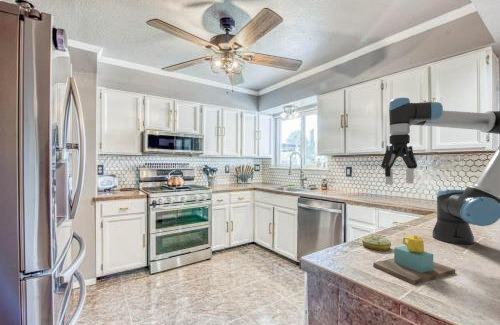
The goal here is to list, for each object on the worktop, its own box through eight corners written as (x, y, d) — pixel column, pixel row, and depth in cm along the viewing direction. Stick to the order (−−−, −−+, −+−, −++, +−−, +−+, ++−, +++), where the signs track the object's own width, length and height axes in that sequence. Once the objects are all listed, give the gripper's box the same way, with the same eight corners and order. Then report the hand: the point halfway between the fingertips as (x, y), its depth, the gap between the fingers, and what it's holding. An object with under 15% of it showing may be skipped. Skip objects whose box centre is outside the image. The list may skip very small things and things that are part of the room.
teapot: (402, 246, 88) (402, 231, 88) (422, 248, 85) (422, 233, 85) (403, 253, 81) (403, 237, 81) (425, 256, 78) (425, 239, 78)
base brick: (406, 259, 89) (406, 245, 89) (433, 269, 81) (433, 254, 81) (394, 262, 86) (394, 247, 86) (420, 272, 78) (421, 256, 78)
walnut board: (412, 257, 94) (412, 254, 94) (455, 273, 81) (455, 269, 81) (373, 266, 86) (373, 262, 86) (414, 284, 73) (414, 280, 73)
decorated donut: (372, 241, 113) (372, 233, 113) (396, 249, 104) (396, 240, 104) (357, 245, 108) (357, 236, 108) (380, 253, 99) (380, 243, 99)
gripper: (409, 136, 117) (409, 182, 117) (371, 134, 107) (372, 184, 107) (426, 135, 111) (426, 183, 111) (387, 132, 100) (388, 185, 100)
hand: (399, 183), depth 109 cm, fingers open, 13 cm apart
